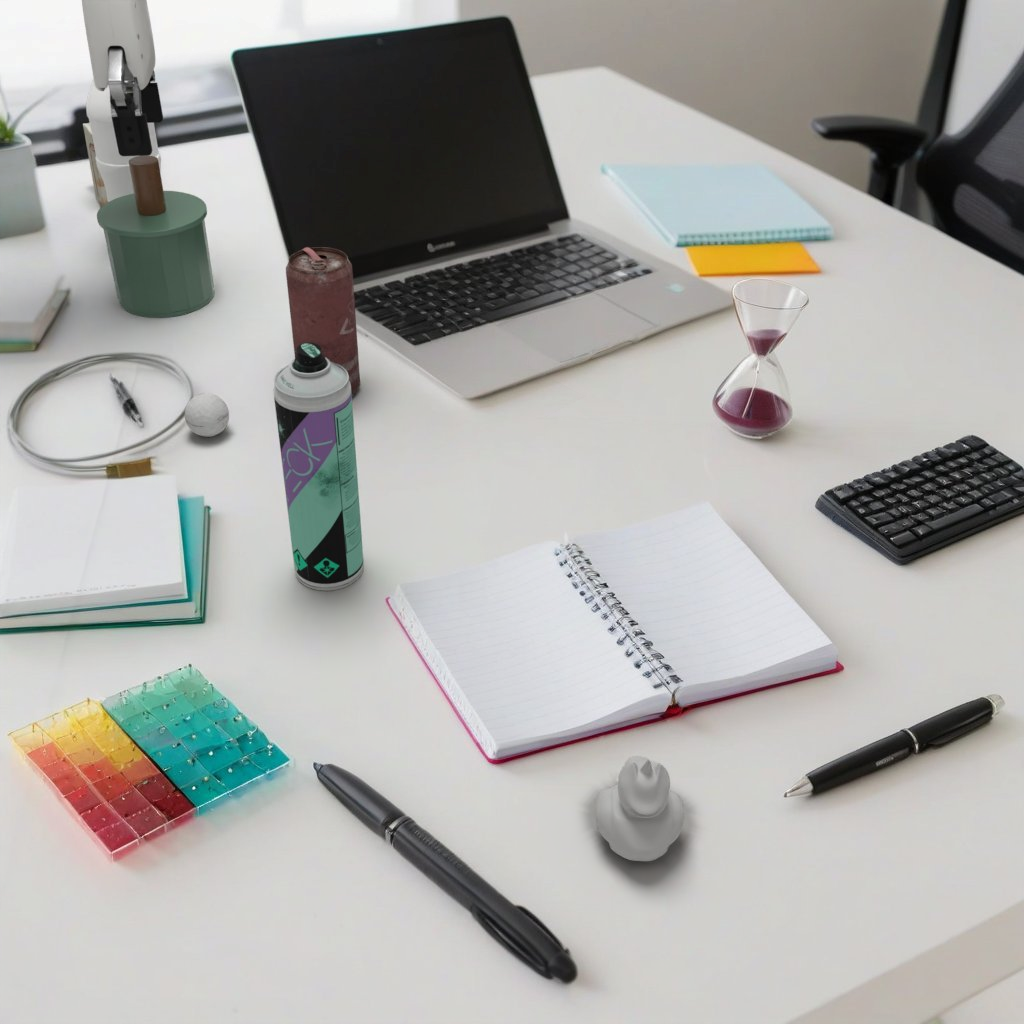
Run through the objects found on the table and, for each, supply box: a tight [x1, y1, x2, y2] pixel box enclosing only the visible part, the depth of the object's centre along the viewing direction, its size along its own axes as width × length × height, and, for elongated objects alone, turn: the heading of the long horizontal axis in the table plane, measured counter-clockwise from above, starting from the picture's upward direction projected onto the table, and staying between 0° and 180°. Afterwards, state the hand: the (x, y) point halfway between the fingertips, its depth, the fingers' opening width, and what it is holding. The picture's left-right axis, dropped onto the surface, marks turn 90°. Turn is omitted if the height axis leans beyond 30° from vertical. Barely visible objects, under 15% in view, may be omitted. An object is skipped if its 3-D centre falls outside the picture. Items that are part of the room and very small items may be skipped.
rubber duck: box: [594, 755, 685, 862], centre depth 70 cm, size 5×7×8 cm
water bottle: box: [85, 77, 162, 202], centre depth 132 cm, size 7×7×25 cm
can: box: [285, 246, 361, 397], centre depth 110 cm, size 6×6×14 cm
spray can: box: [272, 343, 364, 592], centre depth 86 cm, size 6×6×20 cm
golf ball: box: [184, 392, 230, 438], centre depth 106 cm, size 4×4×4 cm
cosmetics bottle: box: [82, 122, 108, 208], centre depth 148 cm, size 5×4×10 cm
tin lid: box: [96, 155, 208, 237], centre depth 122 cm, size 11×11×7 cm
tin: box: [102, 219, 215, 319], centre depth 127 cm, size 10×10×10 cm
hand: (142, 137), depth 119 cm, fingers open, 9 cm apart
